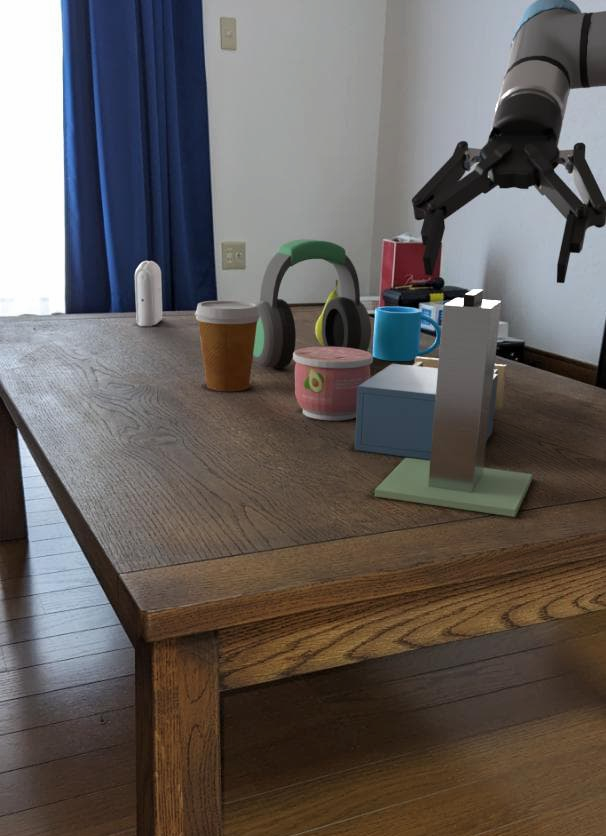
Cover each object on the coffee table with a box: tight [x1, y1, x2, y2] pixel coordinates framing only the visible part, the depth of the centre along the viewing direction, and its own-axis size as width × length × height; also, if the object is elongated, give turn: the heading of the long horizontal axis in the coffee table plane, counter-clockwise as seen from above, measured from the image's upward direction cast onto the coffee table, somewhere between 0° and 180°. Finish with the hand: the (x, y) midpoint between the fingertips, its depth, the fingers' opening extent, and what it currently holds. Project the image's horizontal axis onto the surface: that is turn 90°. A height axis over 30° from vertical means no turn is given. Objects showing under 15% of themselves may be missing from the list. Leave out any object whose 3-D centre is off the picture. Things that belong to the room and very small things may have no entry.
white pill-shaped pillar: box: [134, 260, 163, 327], centre depth 185 cm, size 10×4×12 cm, turn 178°
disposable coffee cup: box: [194, 300, 260, 392], centre depth 132 cm, size 10×10×12 cm
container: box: [292, 346, 374, 421], centre depth 119 cm, size 10×10×8 cm
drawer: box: [411, 356, 508, 410], centre depth 120 cm, size 18×12×6 cm
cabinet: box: [354, 363, 498, 461], centre depth 108 cm, size 15×14×8 cm
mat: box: [374, 457, 533, 518], centre depth 93 cm, size 14×12×1 cm
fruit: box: [314, 279, 340, 347], centre depth 164 cm, size 6×6×12 cm
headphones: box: [253, 238, 372, 369], centre depth 147 cm, size 19×11×20 cm, turn 114°
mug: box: [372, 305, 441, 362], centre depth 158 cm, size 12×8×8 cm
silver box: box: [428, 288, 502, 493], centre depth 89 cm, size 4×6×19 cm
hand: (492, 270), depth 92 cm, fingers open, 13 cm apart
